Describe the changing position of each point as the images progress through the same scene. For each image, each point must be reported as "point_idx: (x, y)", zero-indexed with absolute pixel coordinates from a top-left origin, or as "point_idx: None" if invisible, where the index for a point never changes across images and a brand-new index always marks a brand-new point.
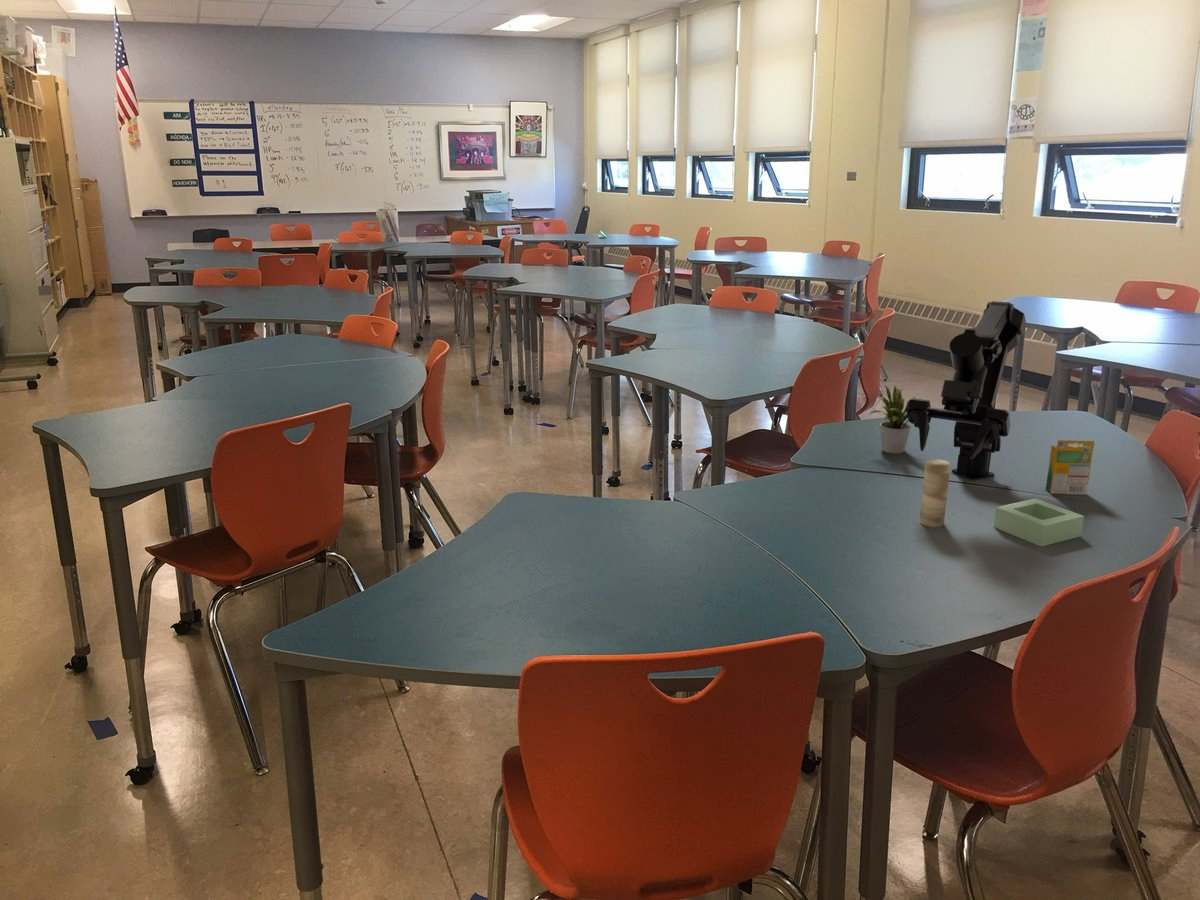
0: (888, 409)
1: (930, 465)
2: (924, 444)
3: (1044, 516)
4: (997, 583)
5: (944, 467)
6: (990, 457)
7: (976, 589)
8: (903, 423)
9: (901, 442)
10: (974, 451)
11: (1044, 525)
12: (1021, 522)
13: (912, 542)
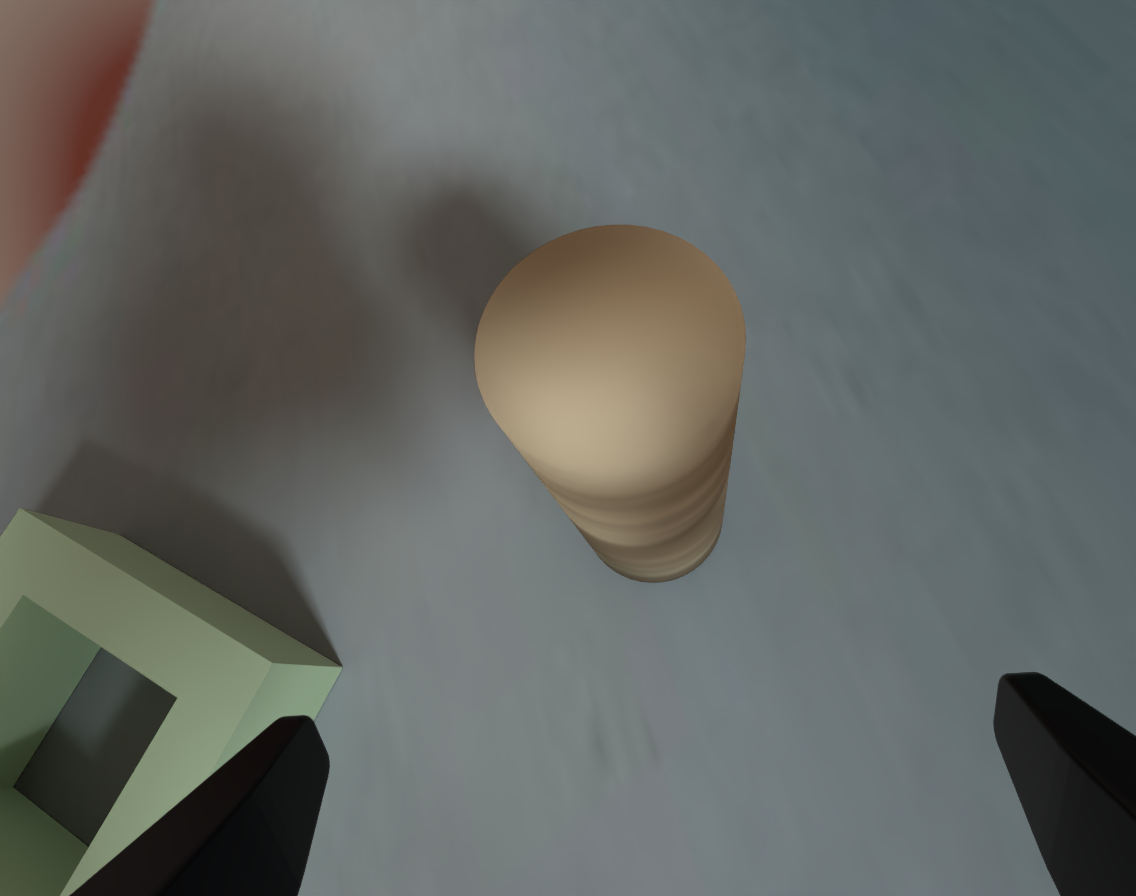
0: None
1: (646, 230)
2: (1053, 806)
3: (49, 877)
4: (254, 93)
5: (511, 276)
6: None
7: (308, 15)
8: None
9: None
10: (226, 763)
11: (19, 513)
12: (149, 578)
13: (632, 212)
